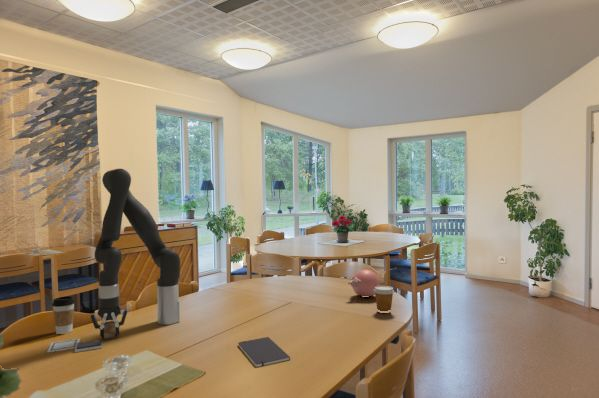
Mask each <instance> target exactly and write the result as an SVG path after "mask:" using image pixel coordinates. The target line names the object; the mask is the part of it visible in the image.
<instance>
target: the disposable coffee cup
mask: <svg viewBox="0 0 599 398" xmlns="http://www.w3.org/2000/svg"><path fill="white" fill-rule="evenodd" d="M374 291H375V295H374V296H375V303H376V309H378V310H380V311H388V310H391V311H392V306H393V305H392V303H393V296H394V291H395V290H394V288H393V287H392V286H390V285H389V286H388V285H380V286H376V287H375V289H374Z"/></svg>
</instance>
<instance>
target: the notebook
mask: <svg viewBox="0 0 599 398" xmlns="http://www.w3.org/2000/svg"><path fill="white" fill-rule="evenodd" d="M237 344H238V347H239V348H240V349H241V351H242V352H243V353H244V354H245V355H246V357H247V358H248V359H249V360H250V362H252V364H253V365H254V366H255V367H264V366H267V365H272V364H276V363H281V362H285V361H291V357H290V355H289V354H287V352H285V351H284V350H283V349H282V348H281V347H280V346H279V345H278V344H276V342H274V341H273V340H272V338H270V337H269V336H265V337H261V338H255V339H250V340H245V341H239V342H238V343H237Z"/></svg>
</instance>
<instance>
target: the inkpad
mask: <svg viewBox="0 0 599 398" xmlns="http://www.w3.org/2000/svg"><path fill="white" fill-rule="evenodd" d="M103 341H104V339H94V340H89V341H80V342H79V343H78V344H76V347H75V349H74V353H80V352H85V351H87V352H88V351H92V350H93V351H94V350H98V349H99V350H100V349H102V348H103Z"/></svg>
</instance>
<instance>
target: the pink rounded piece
mask: <svg viewBox="0 0 599 398" xmlns="http://www.w3.org/2000/svg"><path fill="white" fill-rule="evenodd" d="M347 285H350V286H351V287H352V290H353V292H354V293H355V294H356V295H357V294H358V295H357V296H359V295H361V296H372V295H374V296H375V291H374V289H375V287H376V286H381V285H380V279H379V277H378V275H377V274H376V273H375V272H374V271H373V270H370V269H360V270H359V271H357V272H356V273H354V275H353V277H352V279H351V281H348V283H347ZM372 297H373V296H372Z"/></svg>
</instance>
